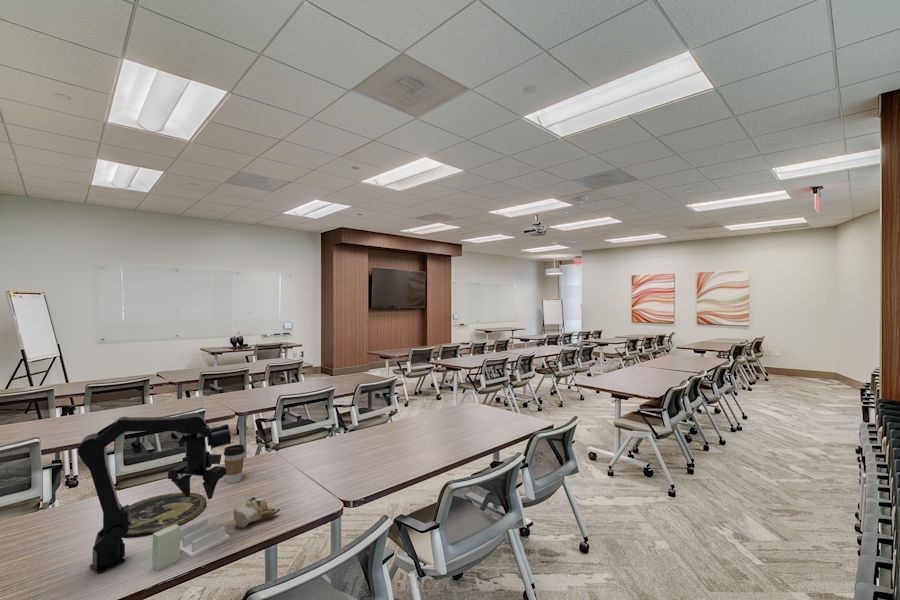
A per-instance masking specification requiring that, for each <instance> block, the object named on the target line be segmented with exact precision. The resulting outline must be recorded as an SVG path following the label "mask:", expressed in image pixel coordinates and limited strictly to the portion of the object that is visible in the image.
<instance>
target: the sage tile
mask: <svg viewBox="0 0 900 600" xmlns="http://www.w3.org/2000/svg"><path fill="white" fill-rule="evenodd" d="M180 530H181V526H178V525H176V524H174V525H172V526H169V527H167V528H165V529H162V530H160V531H158V532H156V533H153V535H152V561H151V562H152V565H151V566H152V568H153V570H155V571H157V572H159V571H161V570H162V569H164V568H167V567H168V566H170V565H173V564H174V563H176V562H178V561H180V560H181V557H180V555H181V552H180Z"/></svg>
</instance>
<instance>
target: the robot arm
mask: <svg viewBox="0 0 900 600" xmlns="http://www.w3.org/2000/svg"><path fill="white" fill-rule="evenodd" d="M167 431H169V432H175V433H179V434H181V435H180V436H179V438H177V443H178V444H182V443H184V449H185V451H184V453H185V457H182V462H185V463H181V464H178V465H177V466H175V467H172V468H171V469H169V471H168V472H167V479H168V480H170V481H171V482H172V483H174V485H176V487H177V488H178V489H179V490H180V492H181V493H183V494H184V495H185V497H189V496H190V493H191V478H192V476H197V477H202V480H203V481H204V482H202V485H203V488H204V491H205V495H206V498H207V499H208V500H211V499H212V498H213V495H214V493H215V489H216V486H217V484H218V482H219V481H220V480H221V479H222V478H223V477H224V476H225V477H226V474H227V473H226V468H225V466H220V465H221V459H222V456H223V455H222V454H220V453H219V454H216V453H214V454H213V453H210V451H207V449H206V447H207V446H208V447H210V448H212V449H215V448H219V447H222V446H227V445H230V444H232V437H231V433H230V427H229V424H227V423H225V424H221V425H219V426H215V427H210V426H209V424H207V423H206V422H205V420H204V417H203V416H202V415H201V414H200V413H198V412H192V413H191V412H190V413H184V414H180V415H175V416H160V417H159V416H157V417H156V416H152V417H151V416H150V417H149V416H147V417H146V416H145V417H144V416H143V417H135V416H134V417H129V416H120V417H119V418H117V419H116V420H115V421H113V422H112V423H110V424H109V425H107V426H105V427H103V428H102V429H101V430H99V431H98V432H96V433H91V434H88V435H86V436H84V437H83V439H82V440H81V442H80V443H79V445H78V446H77V455H78V456H79V458H80V460H81V462H82V463H83V464H84V465H85V466H86V467H87V469H88V470H89V472H90V476H91V479H92V482H93V485H94V488H95V491H96V495H97V497H98V501H99V504H100V507H101V510H102V516H103V517H102V528H101V529H100V530H99V531H98V532H97V533H96V536H95V537H96V538H95V540H94V545H93V546H92V559H91V560H92V563H91V564H89V568H90V569H92V570H93V572H95V573H97V574H101V573H104V572H106V571H108V570H110V569H113V568H114V567H117V566H119V565H121V564H123V563H125V562H126V559H125V556H126V554H125V553H126V552H125V551H126V543H124V538H123V537H124V536H125V535H126V534H127V532H128V530H129V525H131V519H132V514H131V513H130V512H129V506H130V505H129V504H126V505H124V506H123V505H122V504H121V503H120V501H119V497H118V494H117V491H116V488H115V484H114V480H113V478H112V474H111V472H110V471H111V470H110V468H109V464H108V460H107V459H108V455H107V454H108V452H107V451H108V449H107V447H108V446H109V445H110V444H111V443H113V442H114V441H115V440H116V439H117V438H119V437H120V436H121V435H122V434H124V433H129V432H130V433H131V432H134V433H135V432H167ZM206 441H207V446H206ZM212 465H217V466H212ZM218 465H219V466H218ZM211 467H212V468H211ZM209 468H210V469H209Z"/></svg>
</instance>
